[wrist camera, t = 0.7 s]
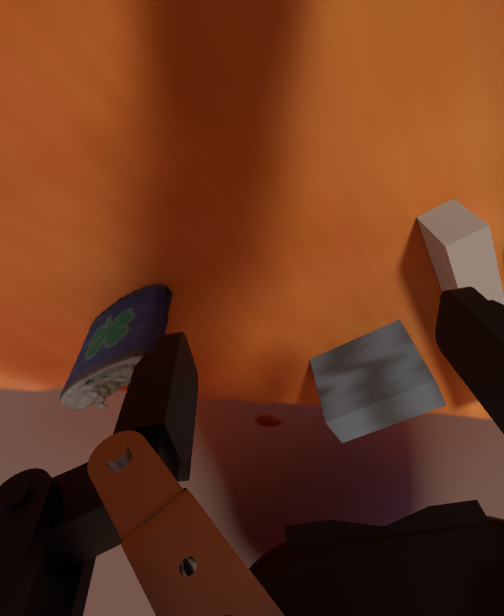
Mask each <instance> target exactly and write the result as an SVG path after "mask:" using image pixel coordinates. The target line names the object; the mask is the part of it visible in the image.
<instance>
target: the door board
mask: <svg viewBox="0 0 504 616" xmlns="http://www.w3.org/2000/svg"><path fill="white" fill-rule="evenodd" d="M417 220H418V223H419V226H420V229H421V232H422V235H423V238H424V241H425V244H426V247H427V250H428V253H429V256H430V258H431V261H432V264H433V267H434V270H435V273H436V276H437V279H438V282H439V285H440V288H441V291H442V292H443V291H445V290H451V289H457V288H463V287H473V288H475V289H476V290H477V291H478V292H479V293H481V294H482V295H483V296H484V297H485V298H486V299H487V300H494V301H496V302H499V303H501V304H503V305H504V294H503V289H502V284H501V279H500V275H499V270H498V265H497V260H496V255H495V251H494V246H493V241H492V236H491V231H490V227H489V225H488V224H487V223H486V222H484V221H483V220H482V219H480V218H479V217H478V216H476V215H475V214H474V213H472V212H471V211H470V210H468V209H467V208H466V207H464V206H463V205H462V204H460V203H459V202H458V201H456V200H455V199H454V198H453V199H451V200H449V201H447V202H445V203H443V204H441V205H440V206H438V207H436V208H434V209H432V210H430V211H428V212H426V213H424V214H422V215H420V216H418V217H417Z"/></svg>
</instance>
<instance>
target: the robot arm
mask: <svg viewBox="0 0 504 616" xmlns="http://www.w3.org/2000/svg"><path fill="white" fill-rule="evenodd" d="M435 335H436V341H437V344H438V347H439V349H440V350H441V352H442V353H443V355H444V356H445V357H446V359H447V360H448V361H449V362H450V364H451V365H452V366H453V368H454V369H455V370H456V372H457V373H458V374H459V376H460V377H461V378H462V380H463V381H464V382H465V384H466V385H467V386H468V388H469V389H470V390H471V392H472V393H473V394H474V395H475V397H476V398H477V399H478V401H479V402H480V403H481V405H482V406H483V407H484V409H485V410H486V411H487V413H488V414H489V415H490V417H491V418H492V419H493V421H494V422H495V423H496V424H497V426H498V427H499V428H500V430H501V431H502V432H503V434H504V305H503V304H501V303H499V302H496V301H494V300H487V299H486V298H485V297H484V296H483V295H482V294H481V293H479V292H478V291H477V290H476V289H475V288H473V287H463V288H457V289H451V290H445V291H443V292H442V294H441V297H440V303H439V310H438V317H437V324H436V331H435ZM197 395H198V375H197V370H196V366H195V363H194V360H193V357H192V354H191V351H190V348H189V345H188V342H187V338H186V336H185V334H184V332H179V333H173V334H166V335H160V336H159V337H158V340H157V344H156V348H155V351H154V353H148V354H144V356H143V357H142V358H141V359H140V361H139V362H138V363H137V364H136V365H135V367H134V370H133V373H132V376H131V382H130V383H129V386H128V389H127V393H126V395H125V399H124V402H123V405H122V408H121V411H120V414H119V417H118V420H117V423H116V427H115V430H114V433H113V435H111V436H109V437H108V438H106V439H105V440H103V441H102V442H101V443H100V444H99V445H98V446H97V447H96V448H95V450H94V451H93V452H92V454H91V456H90V458H89V461H88V462H87V463H85V464H83V465H81V466H79V467H76V468H74V469H72V470H69V471H67V472H65V473H62V474H60V475H58V476H55V477H53V478H51V476H50V475H49V474H48V473H47V472H46V471H45V470H43V469H38V468H35V469H28V470H25V471H22V472H20V473H18V474H16V475H14V476H13V477H11V478H9V479H8V480H7V481H5V482H4V483H3V484H2V485H1V486H0V616H83V613H84V608H85V604H86V599H87V595H88V590H89V586H90V581H91V577H92V572H93V568H94V563H95V559H96V556H97V555H99V554H101V553H103V552H106V551H108V550H110V549H112V548H114V547H116V546H118V545H120V544H121V546H122V548H123V550H124V553H125V555H126V557H127V559H128V561H129V562H130V565H131V567H132V569H133V570H134V573H135V575H136V577H137V579H138V581H139V583H140V584H141V587H142V589H143V591H144V593H145V594H146V597H147V599H148V601H149V603H150V605H151V607H152V609H153V611H154V613H155V615H156V616H504V519H500V518H496V517H491V516H486V515H485V513H484V512H483V510H482V508H481V506H480V505H479V503H478V501H477V500H472V501H464V502H458V503H450V504H442V505H435V506H428V507H427V508H424V509H422V510H420V511H418V512H415V513H413V514H411V515H409V516H407V517H404V518H402V519H400V520H398V521H396V522H394V523H391V524H389V525H386V526H375V525H366V524H360V523H352V522H344V521H337V520H325V521H318V522H311V523H303V524H296V525H289V526H285V533H286V541H284V542H282V543H280V544H278V545H276V546H275V547H273V548H271V549H270V550H268V551H267V552H266V553H265V554H263V555H262V556H261V557H260V558H259V559H257V561H256V562H255V563H254V564H253V565H252V566H251V567H250V568H248V567H247V566H246V564H245V563H244V562H243V560H242V559H241V558H240V557H239V555H238V554H237V553H236V551H235V550H234V549H233V547H232V546H231V545H230V543H229V542H228V541H227V540H226V538H225V537H224V536H223V534H222V533H221V532H220V530H219V529H218V528H217V527H216V525H215V524H214V523H213V521H212V520H211V519H210V517H209V516H208V515H207V513H206V512H205V511H204V509H203V508H202V507H201V506H200V504H199V503H198V502H197V500H196V499H195V498H194V496H193V495H192V494H191V493H190V492H189V490H187V489H186V488H184V489H183V488H182V487H181V486H180V484H179V483H178V482H179V481H187V480H189V477H190V467H191V456H192V446H193V435H194V425H195V414H196V405H197Z"/></svg>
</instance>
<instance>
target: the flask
mask: <svg viewBox="0 0 504 616" xmlns="http://www.w3.org/2000/svg"><path fill="white" fill-rule="evenodd" d="M172 294H173V292H171V291H170V289H169V288H168V287H167V286H166V285H163V284H162V283H160V284H157V283H154V284H152V285H147V286H145V287H142V288H140V289H137V290H135V291H134V292H130V293H129V294H126V295H125V296H124V297H122V298H120V299H119V300H118V301H117V302H116V303H114V304H113V305H111V306H110V307H109V308H107V309H106V310H105V311H103V312H102V313H101V314H100V315H99V316H98V317H97V318H96V319H95V320H94V321H93V323H92V325H91V327H90V329H89V333H88V335H87V337H86V339H85V341H84V343H83V346H82V349H81V351H80V353H79V355H78V357H77V360H76V362H75V364H74V366H73V369H72V371H71V374H70V376H69V378H68V380H67V382H66V384H65V387H64V389H63V390H62V393H61V396H60V399H61V401H62V403H63V404H64V405H65V406H66V407H69V408H71V409H77V410H83V409H86V408H88V407H89V406H91V405H92V404H93V403H96V407H97V408H98V409H101V408H108V407H109V406H108V405H105V404H104V401H106V400H105V398H106V397H107V396H110V395H111V394H112V393H114V391H116V389H118V388H120V387H122V386H124V385H128V384H129V383H130V382H131V376H132V373H133V370H134V367H135V365H136V364H137V363H138V362H139V361H140V359H141V358H142V357H143V356H144V354H148V353H154V351H155V348H156V344H157V340H158V337H159V336H160V335H165V329H166V326H167V323H168V311H169V306H170V302H171V298H172Z"/></svg>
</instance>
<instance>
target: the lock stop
mask: <svg viewBox="0 0 504 616" xmlns="http://www.w3.org/2000/svg"><path fill="white" fill-rule="evenodd" d="M310 362H311V366H312V370H313V374H314V378H315V383H316V387H317V391H318V395H319V399H320V403H321V407H322V411H323V415H324V419H325V422H326V424H327V425H328V426H329V427H330V429H331V430H332V431H333V432H334V433H335V435H336V436H337V437H338V438H339V440H340V441H341V442H342V443H344V442H346V441H349V440H351V439H354V438H357V437H360V436H363V435H366V434H368V433H371V432H374V431H377V430H379V429H382V428H385V427H387V426H390V425H393V424H396V423H399V422H401V421H404V420H407V419H410V418H412V417H415V416H418V415H421V414H423V413H426V412H429V411H432V410H434V409H437V408H440V407H443V406H446V403H445V401H444V399H443V397H442V394H441V392H440V390H439V388H438V385H437V383H436V381H435V379H434V377H433V375H432V374H431V372H430V370H429V369H428V367H427V365H426V364H425V362H424V360H423V359H422V357H421V355H420V353H419V352H418V350H417V348H416V347H415V345H414V343H413V342H412V340H411V338H410V336H409V335H408V333H407V331H406V330H405V328H404V326H403V325H402V323H401V321H400V320H398V321H395V322H393V323H391V324H389V325H386V326H384V327H382V328H380V329H377V330H375V331H373V332H371V333H368V334H366V335H364V336H362V337H359V338H357V339H355V340H353V341H350V342H348V343H346V344H344V345H341V346H339V347H337V348H335V349H332V350H330V351H328V352H326V353H323V354H321V355H319V356H317V357H314V358H312V359H310Z"/></svg>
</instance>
